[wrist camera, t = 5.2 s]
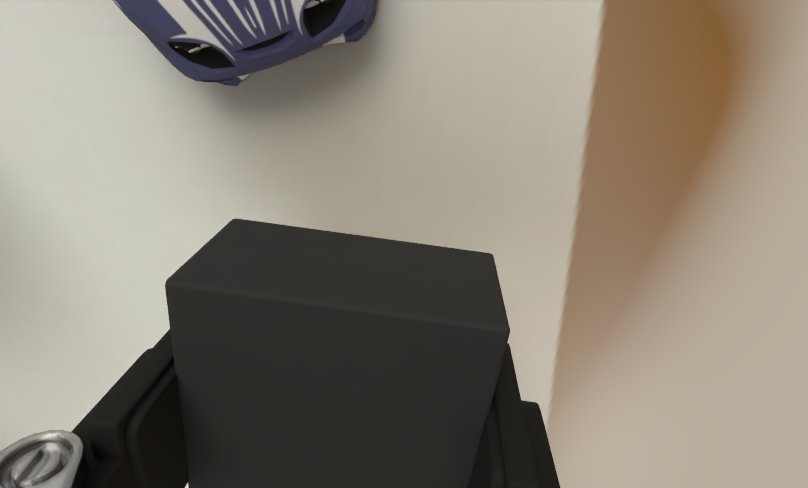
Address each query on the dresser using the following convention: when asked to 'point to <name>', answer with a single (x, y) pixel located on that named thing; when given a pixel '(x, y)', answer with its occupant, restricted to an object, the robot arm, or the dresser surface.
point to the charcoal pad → (333, 359)
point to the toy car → (244, 32)
